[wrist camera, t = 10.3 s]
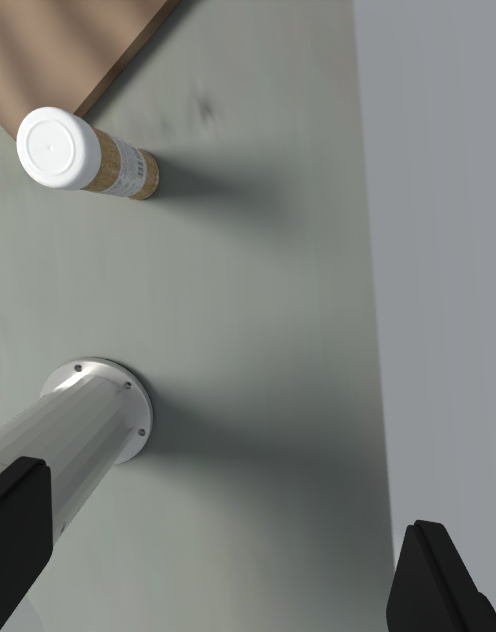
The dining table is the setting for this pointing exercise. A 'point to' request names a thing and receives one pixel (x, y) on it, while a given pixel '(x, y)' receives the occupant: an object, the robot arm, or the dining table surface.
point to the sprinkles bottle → (83, 156)
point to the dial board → (68, 51)
